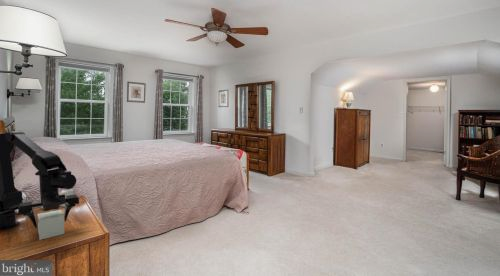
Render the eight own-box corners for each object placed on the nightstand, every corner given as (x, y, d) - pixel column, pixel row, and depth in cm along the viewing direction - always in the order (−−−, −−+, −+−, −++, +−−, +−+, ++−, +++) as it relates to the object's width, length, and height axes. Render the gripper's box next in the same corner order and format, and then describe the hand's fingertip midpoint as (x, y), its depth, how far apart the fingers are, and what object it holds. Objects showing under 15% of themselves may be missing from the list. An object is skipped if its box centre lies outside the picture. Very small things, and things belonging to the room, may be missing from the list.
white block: (38, 232, 101) (37, 214, 101) (61, 227, 107) (61, 209, 106) (39, 239, 96) (38, 220, 95) (64, 233, 101) (63, 215, 100)
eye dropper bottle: (60, 205, 130) (59, 182, 129) (73, 202, 134) (72, 181, 133) (61, 207, 127) (60, 184, 126) (74, 205, 131) (73, 182, 130)
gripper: (16, 196, 87) (19, 239, 88) (80, 187, 99) (82, 224, 101) (17, 188, 95) (19, 228, 96) (76, 181, 107) (77, 215, 109)
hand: (51, 224), depth 100 cm, fingers open, 9 cm apart
